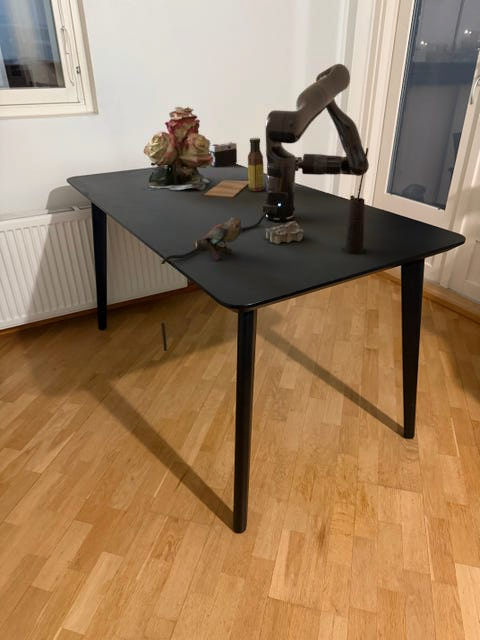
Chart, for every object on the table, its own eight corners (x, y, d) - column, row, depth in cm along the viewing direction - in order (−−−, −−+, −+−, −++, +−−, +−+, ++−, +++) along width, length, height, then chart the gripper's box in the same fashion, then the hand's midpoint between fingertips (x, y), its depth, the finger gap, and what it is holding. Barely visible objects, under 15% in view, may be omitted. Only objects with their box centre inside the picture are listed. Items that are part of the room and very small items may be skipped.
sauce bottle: (264, 188, 191) (265, 137, 181) (263, 192, 186) (264, 139, 176) (248, 188, 191) (248, 137, 182) (247, 192, 186) (247, 139, 176)
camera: (227, 160, 239) (226, 140, 234) (237, 163, 233) (237, 142, 228) (205, 164, 231) (204, 143, 226) (215, 167, 226) (214, 145, 221)
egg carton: (296, 233, 144) (297, 220, 142) (305, 241, 138) (306, 228, 136) (263, 236, 142) (263, 223, 140) (271, 244, 135) (272, 231, 133)
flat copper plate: (233, 197, 179) (233, 196, 179) (204, 195, 182) (204, 194, 182) (250, 182, 199) (250, 181, 199) (223, 181, 202) (223, 179, 202)
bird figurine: (179, 245, 133) (196, 193, 117) (208, 239, 138) (228, 188, 123) (202, 281, 129) (223, 232, 113) (230, 273, 134) (254, 224, 118)
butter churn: (330, 243, 136) (340, 143, 122) (362, 242, 136) (375, 142, 122) (338, 255, 128) (349, 149, 114) (372, 254, 129) (387, 148, 114)
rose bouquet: (141, 189, 190) (132, 110, 175) (172, 174, 214) (167, 102, 199) (198, 195, 183) (194, 112, 168) (224, 178, 207) (223, 104, 191)
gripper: (313, 178, 175) (270, 176, 178) (315, 170, 187) (275, 168, 190) (314, 157, 171) (271, 156, 174) (317, 150, 183) (276, 149, 186)
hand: (273, 162), depth 182 cm, fingers open, 8 cm apart
